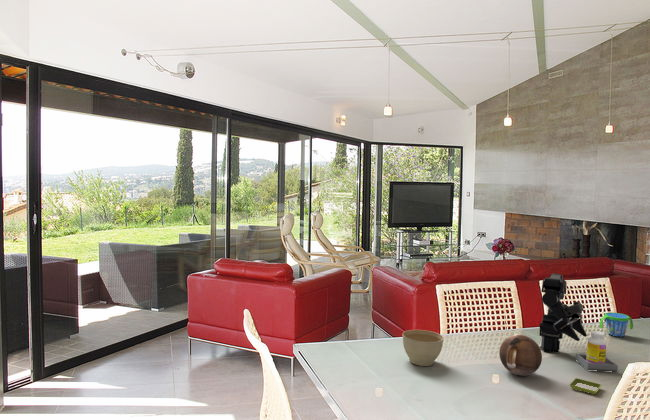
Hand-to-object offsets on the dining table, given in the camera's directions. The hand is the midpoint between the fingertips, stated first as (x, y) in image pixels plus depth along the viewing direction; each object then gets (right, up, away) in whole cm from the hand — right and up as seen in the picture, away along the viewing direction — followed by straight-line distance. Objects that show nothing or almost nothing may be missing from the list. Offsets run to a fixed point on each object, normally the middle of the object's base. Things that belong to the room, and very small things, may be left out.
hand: (582, 338), depth 199 cm
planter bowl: (-67, -8, -5) cm, 68 cm away
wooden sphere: (-32, -10, -14) cm, 36 cm away
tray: (+3, -10, -4) cm, 12 cm away
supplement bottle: (+3, -10, -3) cm, 11 cm away
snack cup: (+38, -9, +40) cm, 56 cm away
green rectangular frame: (-13, -12, -26) cm, 31 cm away
